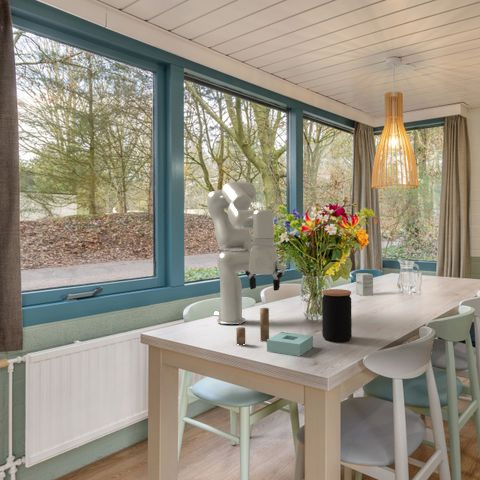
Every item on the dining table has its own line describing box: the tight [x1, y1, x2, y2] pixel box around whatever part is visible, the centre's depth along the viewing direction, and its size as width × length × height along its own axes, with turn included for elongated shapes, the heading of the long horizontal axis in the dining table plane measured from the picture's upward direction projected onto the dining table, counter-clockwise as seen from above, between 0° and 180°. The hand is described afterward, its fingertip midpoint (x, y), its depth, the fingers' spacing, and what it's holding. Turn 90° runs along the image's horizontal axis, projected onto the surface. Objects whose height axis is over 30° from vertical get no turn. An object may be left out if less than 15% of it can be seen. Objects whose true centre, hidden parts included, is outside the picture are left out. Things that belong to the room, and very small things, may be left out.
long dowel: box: [259, 307, 270, 342], centre depth 162 cm, size 3×3×12 cm
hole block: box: [266, 331, 314, 357], centre depth 151 cm, size 12×12×4 cm
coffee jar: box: [321, 288, 353, 344], centre depth 163 cm, size 11×11×18 cm
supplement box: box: [355, 272, 374, 297], centre depth 261 cm, size 7×7×13 cm
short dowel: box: [235, 326, 246, 345], centre depth 157 cm, size 3×3×6 cm
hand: (264, 289), depth 162 cm, fingers open, 9 cm apart
